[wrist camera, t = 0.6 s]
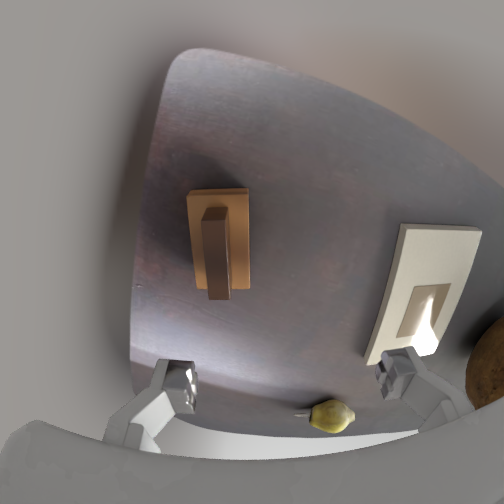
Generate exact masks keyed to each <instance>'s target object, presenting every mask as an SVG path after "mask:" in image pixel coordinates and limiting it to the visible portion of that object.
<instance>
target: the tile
mask: <svg viewBox="0 0 504 504" xmlns="http://www.w3.org/2000/svg"><path fill="white" fill-rule="evenodd" d="M481 234H482V231H481V230H479V229H478V228H477V227H473V226H453V225H429V224H400V229H399V234H398V239H397V244H396V248H395V253H394V257H393V262H392V266H391V270H390V274H389V278H388V282H387V285H386V289H385V293H384V296H383V300H382V303H381V307H380V310H379V313H378V316H377V320H376V323H375V326H374V329H373V332H372V335H371V338H370V341H369V344H368V347H367V349H366V352H365V355H364V361H365V364H366V365H372V364H377V363H378V362H379V361H380V360H382V359H381V357H380V356H381V354H382V352H383V351H384V350H390V349H396V348H401V347H402V348H403V347H408V346H414V347H415V349H416V351H417V353H418V355H419V356H422V355H427V354H432V353H434V352H435V350H436V348H437V346H438V344H439V342H440V340H441V338H442V336H443V334H444V332H445V330H446V328H447V326H448V324H449V322H450V319H451V317H452V315H453V313H454V311H455V308H456V306H457V303H458V301H459V299H460V296H461V294H462V291H463V289H464V286H465V283H466V281H467V278H468V275H469V272H470V270H471V267H472V264H473V261H474V257H475V254H476V251H477V248H478V244H479V241H480V237H481Z"/></svg>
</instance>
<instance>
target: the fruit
mask: <svg viewBox="0 0 504 504" xmlns="http://www.w3.org/2000/svg"><path fill="white" fill-rule="evenodd" d="M311 411H312V412H311V413H309V414H302V413H300V414H294V416H299V417H309V423H310V425H312V426H314V427H317V428H319V429H321V430H323V431H325V432H329V433H337V432H340V431H342V430H343V429H345V428H346V426H347V425H348V424H349V423H350V422H352V421H354V420H355V414H354V412H353V411H352V410H351V409H349V408H348V407H347V406H346V405H345V404H344V403H343V402H341V401H339V400H328V401H326V402H324V403H322V404H319V405H315V406H314V407H313V408H312V409H311Z"/></svg>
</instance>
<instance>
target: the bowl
mask: <svg viewBox="0 0 504 504" xmlns="http://www.w3.org/2000/svg"><path fill="white" fill-rule="evenodd" d="M465 387H466V393H467V396H468V398H469V400H470V402H471V403H472V405H473V406H474V407H475V410H478V409H480V408H482V407H484V406H486V405H488V404H490V403H492V402H494V401H496V400H498V399H500V398H501V397H503V396H504V317H502V318H500V319H499V320H497V321H496V322H495V323H494V324H493V325H492V326H491V327H490V328H489V329H487V331H486V332H485V333H484V334H483V336H482V337H481V338H480V340H479V341H478V343H477V344H476V346H475V348H474V350H473V352H472V354H471V356H470V358H469V360H468V364H467V369H466V386H465Z"/></svg>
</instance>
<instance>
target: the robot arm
mask: <svg viewBox="0 0 504 504" xmlns="http://www.w3.org/2000/svg"><path fill="white" fill-rule="evenodd" d="M380 357H381V359H382V360H380V361H379V362H378V363H377V366H376V378H377V381H378V383H380V384H381V385H382V387H381V392H382V395H383V398H384V400H385V401H387V400H392V399H397V398H400V399H401V400H403V401H404V402H405V403H406V404H407V405H408V406H409V407H410V408H411V409H412V410H414V411H415V412H416V413H417V414H418V415H419V416H420V417H421V418H422V419H423V420H425V422H424V423H423V424H422V425H421V426H420V427H419V429H418V431H419V433H417V434H414V435H411V436H408V437H404V438H401V439H397V440H394V441H390V442H386V443H382V444H378V445H374V446H369V447H365V448H360V449H355V450H350V451H344V452H338V453H332V454H325V455H317V456H309V457H299V458H287V459H269V460H221V459H206V458H194V457H193V458H192V457H184V456H183V457H182V456H175V455H167V454H161V453H160V452H161V450H160V449H159V447H158V446H157V445H156V443H155V442H154V441H153V438H154V437H155V436H156V435H157V434H158V433H159V431H161V429H162V428H163V427H164V426H165V425H166V424H167V423H168V422H169V420H170V419H171V418H172V417H173V416H174V415H175V413H187V414H194V413H195V406H196V399H195V395H196V394H197V393H198V375H197V373H196V372H195V364H194V361H182V360H169V359H159V360H158V361H157V363H156V366H155V370H154V373H153V376H152V380H151V383H150V386H149V388H145V389H144V390H143V391H141V392H140V393H139V394H138V395H137V396H135V397H134V398H133V399H132V400H131V401H130V402H128V403H127V404H126V405H124V406H123V407H122V408H121V409H120V410H118V411H117V412H116V413H115V414H114V415H112V416H111V417H110V419H109V422H108V425H107V428H106V431H105V434H104V437H103V440H102V441H99V440H95V439H92V438H88V437H85V436H82V435H79V434H76V433H73V432H70V431H67V430H64V429H61V428H59V427H56V426H53V425H50V424H48V423H46V422H43V421H40V420H34V421H32V422H29V423H28V424H26V425H24V426H22V427H21V428H19V429H18V430H16V431H14V432H13V433H12V434H11V435H10V436H9V438H8V440H7V441H6V443H5V445H4V447H3V449H2V451H1V454H0V504H504V396H503V397H501V398H500V399H498V400H496V401H494V402H492V403H490V404H488V405H486V406H484V407H482V408H480V409H478V410H476V411H474V412H473V410H472V408H471V406H470V404H469V402H468V400H467V398H466V396H465V394H464V392H463V391H461V390H459V389H458V388H456V387H455V386H453V385H452V384H450V383H449V382H447V381H446V380H444V379H442V378H441V377H439V376H438V375H436V374H435V373H433V372H432V371H430V370H428V371H427V370H426V368H425V366H424V364H423V362H422V360H421V358H420V356H419V355H418V353H417V351H416V349H415V347H414V346H408V347H403V348H402V347H401V348H396V349H390V350H384V351H383V352H382V354H381V356H380Z"/></svg>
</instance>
